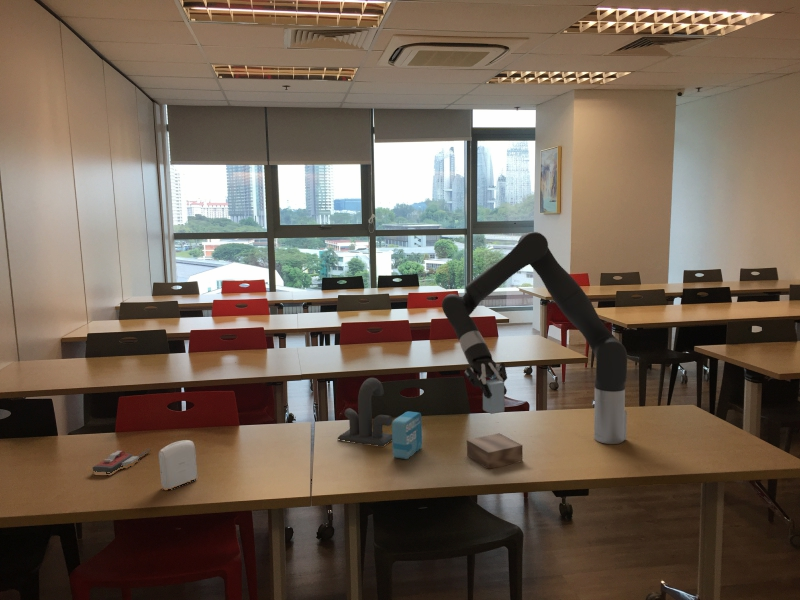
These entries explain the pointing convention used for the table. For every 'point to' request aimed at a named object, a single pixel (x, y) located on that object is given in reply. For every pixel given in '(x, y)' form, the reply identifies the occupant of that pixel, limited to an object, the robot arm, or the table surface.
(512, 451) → the walnut base
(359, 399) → the faucet
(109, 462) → the walkie-talkie
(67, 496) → the table surface
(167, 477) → the photo printer
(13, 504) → the table surface
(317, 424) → the table surface
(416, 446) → the light blue box
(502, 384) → the slate block
